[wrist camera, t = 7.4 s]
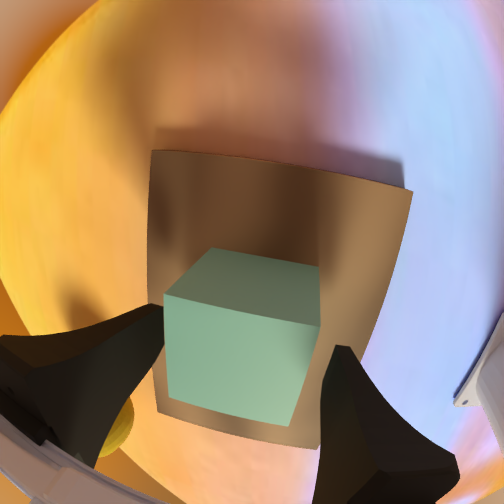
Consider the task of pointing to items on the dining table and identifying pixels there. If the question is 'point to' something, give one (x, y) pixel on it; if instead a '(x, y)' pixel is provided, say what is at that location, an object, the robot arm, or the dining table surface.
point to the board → (275, 256)
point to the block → (242, 334)
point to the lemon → (119, 429)
